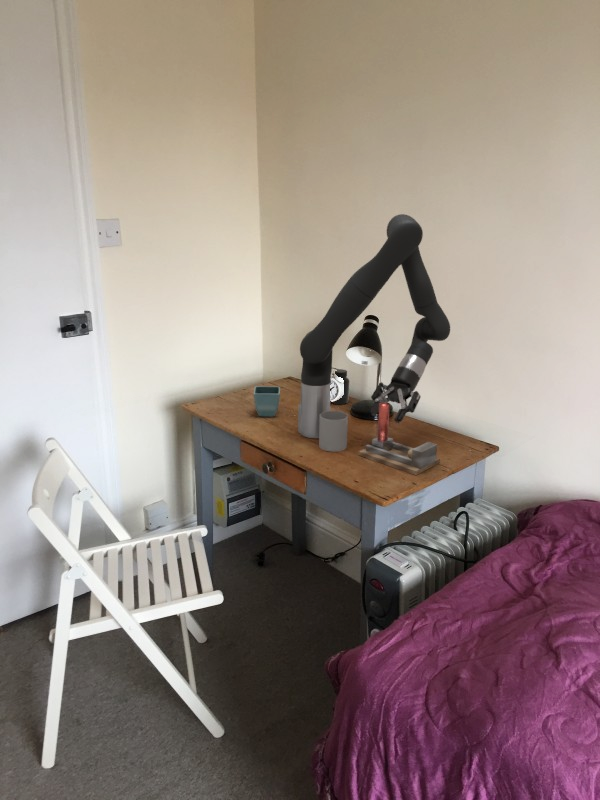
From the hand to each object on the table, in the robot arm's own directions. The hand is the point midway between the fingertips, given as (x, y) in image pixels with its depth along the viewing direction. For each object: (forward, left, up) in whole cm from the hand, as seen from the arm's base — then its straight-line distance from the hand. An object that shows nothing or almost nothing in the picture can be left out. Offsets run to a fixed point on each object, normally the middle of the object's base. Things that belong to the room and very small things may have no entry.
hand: (384, 418), depth 190 cm
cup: (-14, -6, -11) cm, 19 cm away
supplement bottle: (-40, +28, -11) cm, 50 cm away
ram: (0, 0, -9) cm, 10 cm away
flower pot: (-49, 0, -11) cm, 50 cm away
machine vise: (+6, 0, -11) cm, 13 cm away
